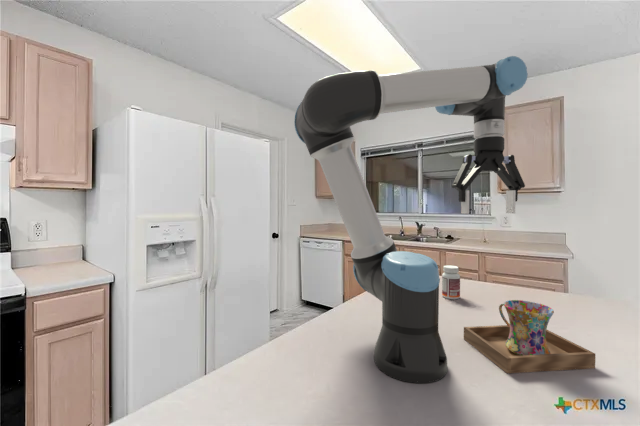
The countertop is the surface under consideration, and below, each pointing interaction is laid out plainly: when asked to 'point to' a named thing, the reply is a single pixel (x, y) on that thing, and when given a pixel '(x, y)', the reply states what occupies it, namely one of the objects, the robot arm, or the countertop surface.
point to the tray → (561, 356)
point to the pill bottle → (451, 282)
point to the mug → (527, 327)
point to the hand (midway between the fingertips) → (487, 213)
